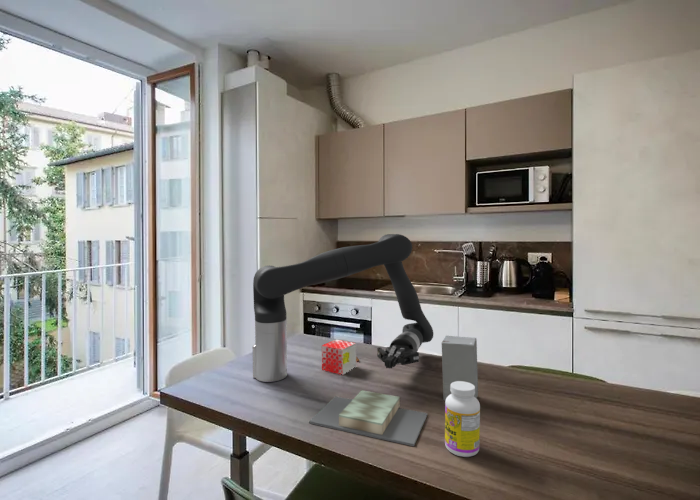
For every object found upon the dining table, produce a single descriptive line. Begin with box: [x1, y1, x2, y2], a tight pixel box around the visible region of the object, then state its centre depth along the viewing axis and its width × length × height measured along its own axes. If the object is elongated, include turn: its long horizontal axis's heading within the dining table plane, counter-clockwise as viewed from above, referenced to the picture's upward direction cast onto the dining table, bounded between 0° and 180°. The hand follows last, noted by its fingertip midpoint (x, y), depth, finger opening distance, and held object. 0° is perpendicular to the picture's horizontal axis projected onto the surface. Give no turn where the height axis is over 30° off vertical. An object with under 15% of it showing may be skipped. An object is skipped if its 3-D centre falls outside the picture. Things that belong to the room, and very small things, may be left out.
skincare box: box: [441, 335, 479, 401], centre depth 97 cm, size 8×7×16 cm
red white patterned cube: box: [321, 339, 357, 376], centre depth 119 cm, size 8×8×8 cm
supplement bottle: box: [444, 381, 481, 458], centre depth 74 cm, size 7×7×13 cm
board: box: [339, 389, 401, 435], centre depth 87 cm, size 10×2×14 cm
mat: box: [308, 395, 429, 447], centre depth 86 cm, size 24×14×1 cm, turn 67°
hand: (388, 364), depth 99 cm, fingers closed
